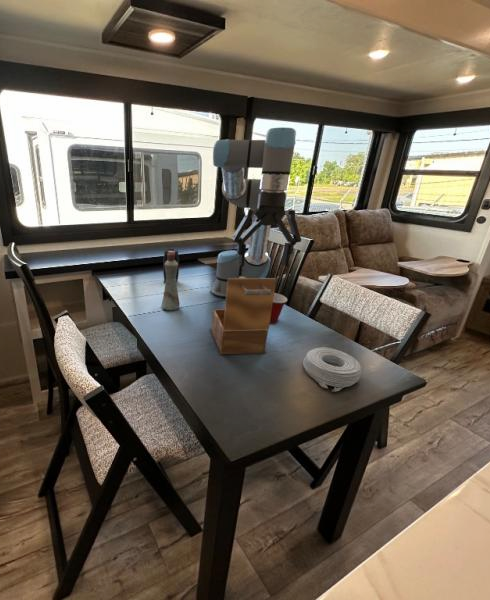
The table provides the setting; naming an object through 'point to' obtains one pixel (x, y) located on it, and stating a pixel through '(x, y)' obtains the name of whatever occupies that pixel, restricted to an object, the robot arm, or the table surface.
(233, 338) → the chest
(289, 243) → the robot arm
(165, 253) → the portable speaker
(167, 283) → the bottle
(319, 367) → the cable
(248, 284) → the lid
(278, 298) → the plastic cup
